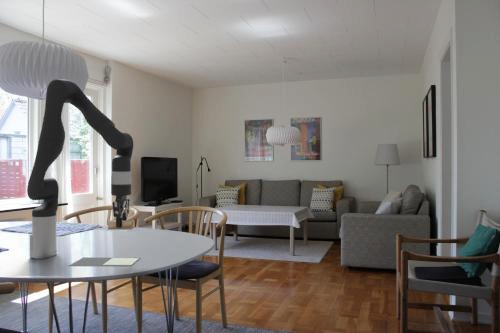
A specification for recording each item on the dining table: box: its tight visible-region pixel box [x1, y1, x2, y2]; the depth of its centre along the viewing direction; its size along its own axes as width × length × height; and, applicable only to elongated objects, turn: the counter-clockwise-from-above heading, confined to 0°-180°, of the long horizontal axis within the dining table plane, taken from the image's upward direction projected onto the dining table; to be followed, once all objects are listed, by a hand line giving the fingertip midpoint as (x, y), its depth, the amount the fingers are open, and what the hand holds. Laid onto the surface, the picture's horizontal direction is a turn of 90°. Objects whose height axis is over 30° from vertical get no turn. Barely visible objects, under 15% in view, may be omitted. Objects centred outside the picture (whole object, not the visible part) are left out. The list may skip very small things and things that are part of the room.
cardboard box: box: [107, 219, 136, 231], centre depth 164 cm, size 5×9×3 cm, turn 90°
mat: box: [68, 256, 142, 268], centre depth 164 cm, size 24×14×1 cm, turn 90°
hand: (121, 226), depth 164 cm, fingers closed on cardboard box, 5 cm apart
